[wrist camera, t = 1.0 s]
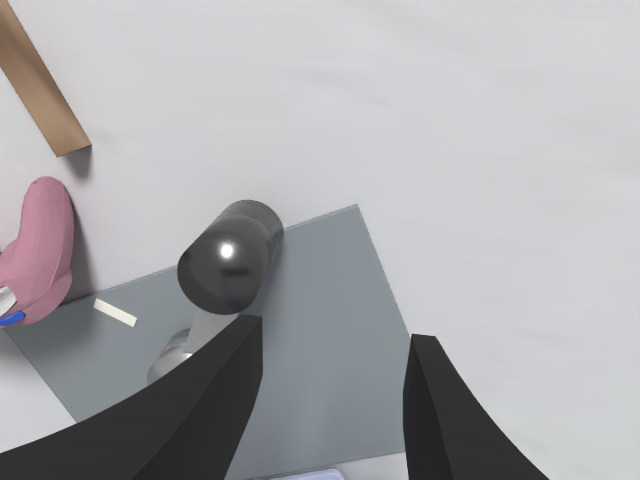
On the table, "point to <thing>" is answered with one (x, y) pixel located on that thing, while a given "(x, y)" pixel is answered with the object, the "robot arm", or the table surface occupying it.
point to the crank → (222, 276)
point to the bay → (37, 87)
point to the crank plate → (278, 350)
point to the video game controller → (38, 256)
